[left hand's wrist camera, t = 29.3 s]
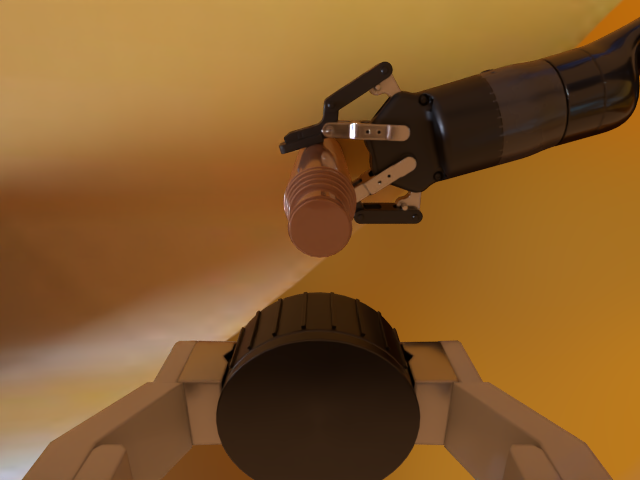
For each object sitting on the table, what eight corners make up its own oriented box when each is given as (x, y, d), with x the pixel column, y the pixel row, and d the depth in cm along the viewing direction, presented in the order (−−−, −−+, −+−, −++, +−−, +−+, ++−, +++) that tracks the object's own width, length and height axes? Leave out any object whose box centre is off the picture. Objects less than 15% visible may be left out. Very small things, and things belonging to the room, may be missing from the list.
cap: (371, 446, 11) (381, 515, 9) (216, 410, 11) (195, 476, 9) (431, 316, 10) (457, 369, 8) (254, 268, 9) (237, 313, 8)
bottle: (315, 186, 42) (310, 285, 21) (289, 150, 41) (256, 219, 20) (351, 161, 41) (381, 239, 20) (325, 124, 40) (330, 167, 19)
